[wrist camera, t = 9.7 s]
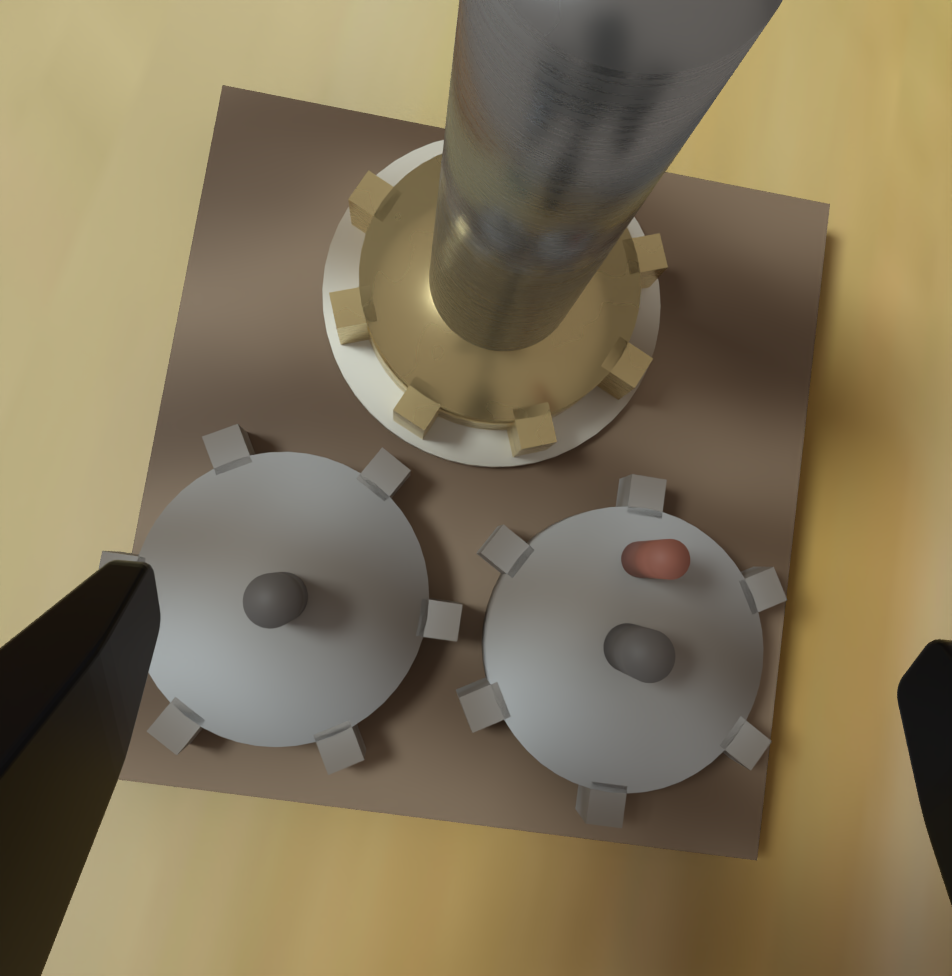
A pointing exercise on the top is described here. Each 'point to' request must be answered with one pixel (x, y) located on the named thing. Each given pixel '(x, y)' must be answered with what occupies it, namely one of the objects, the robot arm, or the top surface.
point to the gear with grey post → (536, 208)
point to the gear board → (471, 524)
